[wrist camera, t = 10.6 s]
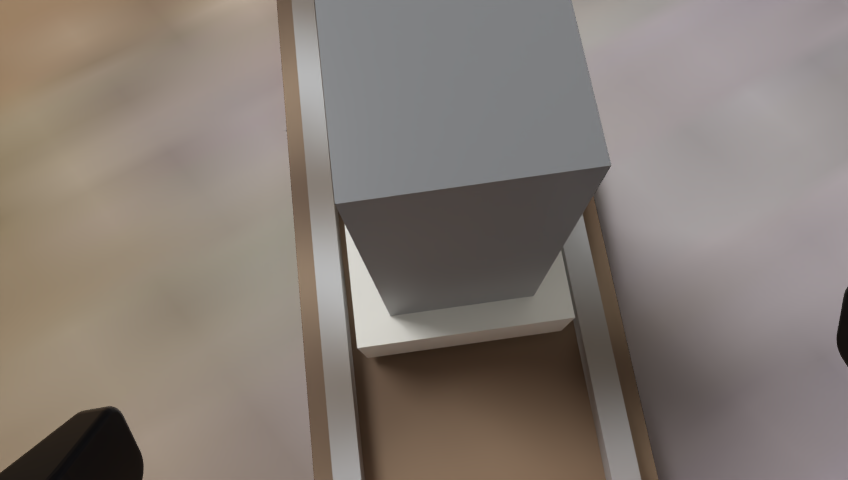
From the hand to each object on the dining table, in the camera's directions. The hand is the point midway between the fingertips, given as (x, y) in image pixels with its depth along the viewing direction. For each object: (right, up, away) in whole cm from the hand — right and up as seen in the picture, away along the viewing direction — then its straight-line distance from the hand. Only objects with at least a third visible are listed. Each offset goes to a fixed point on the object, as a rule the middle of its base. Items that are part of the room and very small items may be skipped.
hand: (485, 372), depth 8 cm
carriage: (0, +1, +13) cm, 13 cm away
